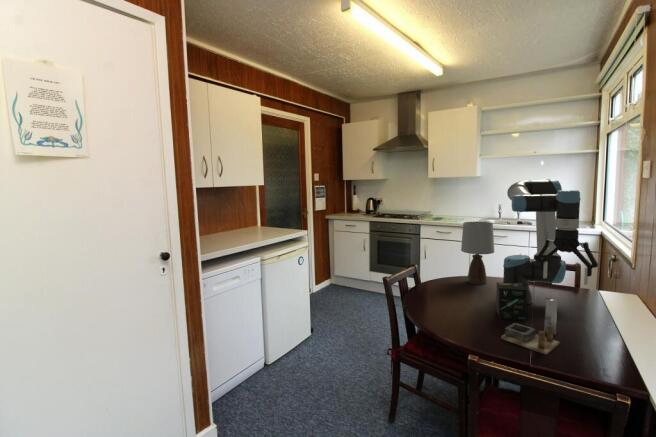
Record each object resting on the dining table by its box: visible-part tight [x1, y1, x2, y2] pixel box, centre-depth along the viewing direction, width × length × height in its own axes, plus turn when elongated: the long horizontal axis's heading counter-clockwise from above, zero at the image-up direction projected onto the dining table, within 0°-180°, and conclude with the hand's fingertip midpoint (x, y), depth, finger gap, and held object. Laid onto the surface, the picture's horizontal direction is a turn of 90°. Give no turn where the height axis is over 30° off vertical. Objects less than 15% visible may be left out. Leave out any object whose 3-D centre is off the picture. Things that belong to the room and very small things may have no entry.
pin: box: [543, 297, 558, 336], centre depth 133 cm, size 4×4×14 cm
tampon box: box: [495, 282, 527, 322], centre depth 150 cm, size 11×9×15 cm
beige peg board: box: [500, 322, 560, 355], centre depth 127 cm, size 16×12×7 cm
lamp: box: [460, 221, 495, 285], centre depth 201 cm, size 19×19×37 cm
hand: (564, 280), depth 132 cm, fingers open, 13 cm apart
